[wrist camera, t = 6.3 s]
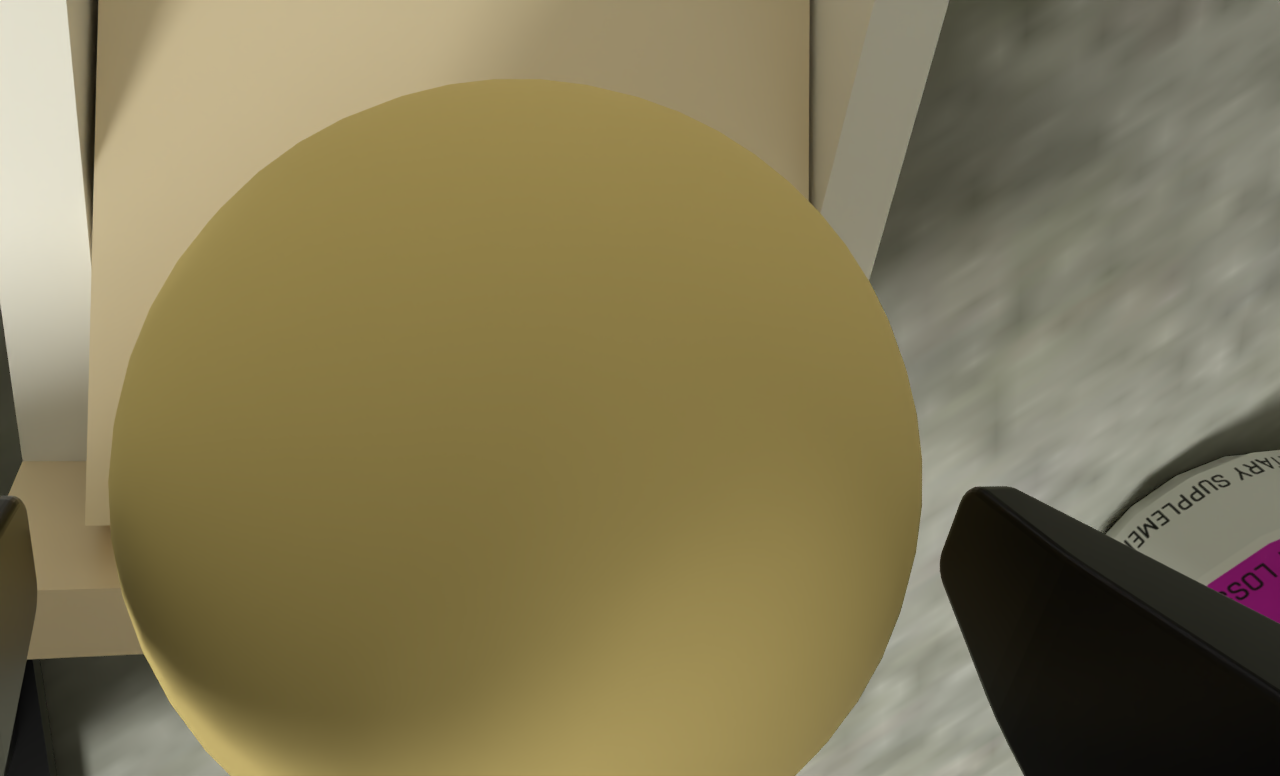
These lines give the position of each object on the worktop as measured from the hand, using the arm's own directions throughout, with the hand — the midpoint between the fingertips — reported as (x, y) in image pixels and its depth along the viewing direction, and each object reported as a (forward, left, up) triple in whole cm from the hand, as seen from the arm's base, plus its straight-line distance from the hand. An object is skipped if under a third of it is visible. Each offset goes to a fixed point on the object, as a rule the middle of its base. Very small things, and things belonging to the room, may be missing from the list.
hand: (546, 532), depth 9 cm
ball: (0, 0, -1) cm, 1 cm away
